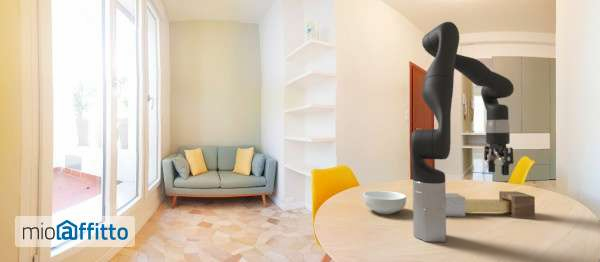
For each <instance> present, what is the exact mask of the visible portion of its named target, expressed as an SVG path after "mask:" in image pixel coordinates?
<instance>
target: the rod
mask: <svg viewBox="0 0 600 262" xmlns="http://www.w3.org/2000/svg"><path fill="white" fill-rule="evenodd" d="M465 213H500V214H501V213H503V214H505V213H512V208H511V200H499V199H496V198H495V199H487V198H485V199H481V198H480V199H473V198H472V199H471V198H465Z"/></svg>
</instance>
